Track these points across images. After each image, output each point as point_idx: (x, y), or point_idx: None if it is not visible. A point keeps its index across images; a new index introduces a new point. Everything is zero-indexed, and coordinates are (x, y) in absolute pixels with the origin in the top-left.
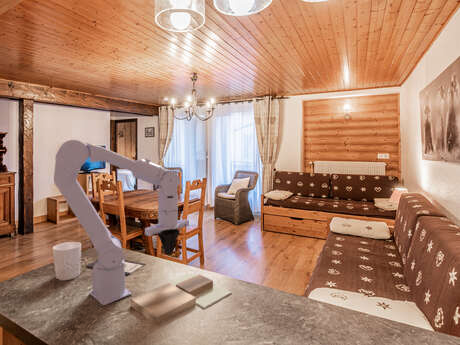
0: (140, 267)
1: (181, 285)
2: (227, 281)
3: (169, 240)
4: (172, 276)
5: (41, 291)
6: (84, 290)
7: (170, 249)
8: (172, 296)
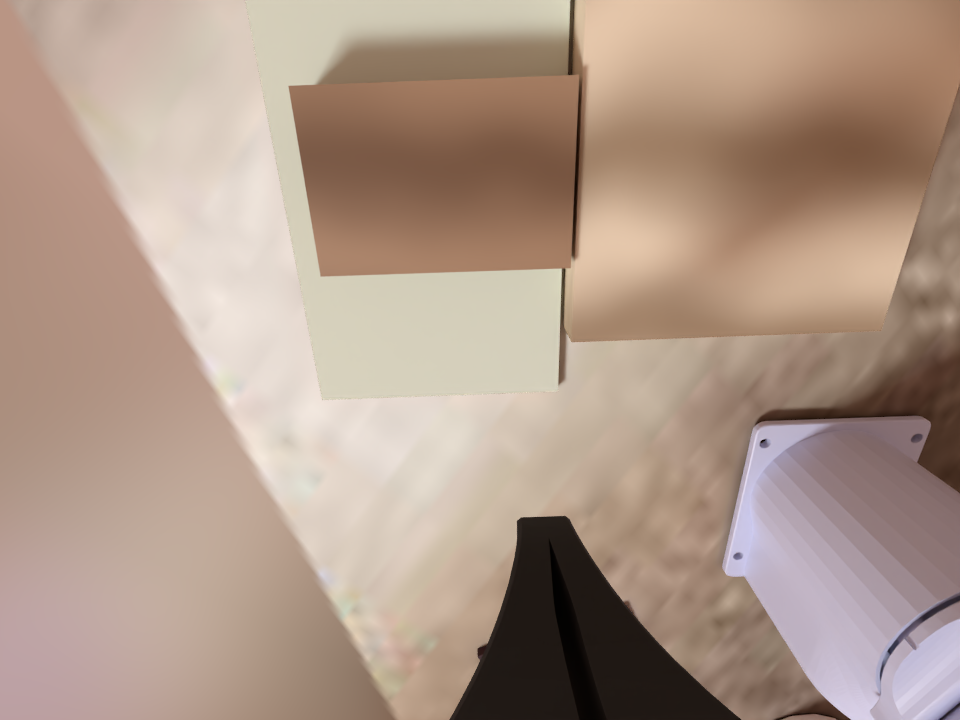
0: None
1: (550, 222)
2: (138, 98)
3: (639, 672)
4: (439, 449)
5: None
6: None
7: (562, 556)
8: (697, 139)
